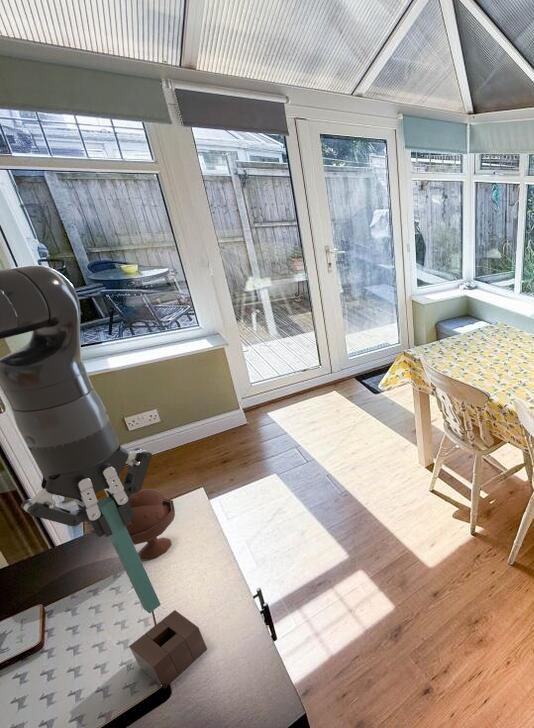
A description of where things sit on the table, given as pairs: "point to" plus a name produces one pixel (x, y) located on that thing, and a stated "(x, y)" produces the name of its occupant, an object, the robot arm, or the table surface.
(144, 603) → the stick
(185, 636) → the holder
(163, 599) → the table surface
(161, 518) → the ice cream bowl
